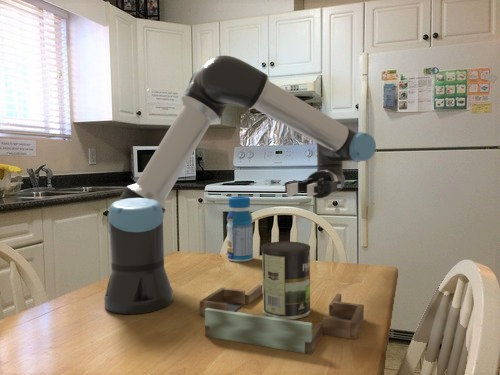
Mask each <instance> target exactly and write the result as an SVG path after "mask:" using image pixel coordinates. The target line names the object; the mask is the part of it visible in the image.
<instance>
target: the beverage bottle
mask: <svg viewBox="0 0 500 375" xmlns="http://www.w3.org/2000/svg"><path fill="white" fill-rule="evenodd" d="M250 206H251V198H250V196H230V197H229V198H228V208H229V209H230V210H229V212H228V214H227V217H226V221H227V224H226V234H227V237H226V238H227V259H228V260H229V261H231V262H236V263H243V262H248V261H252V260H253V259H254V258H253V257H254V251H253V248H254V247H253V240H254V239H253V237H254V236H253V230H254V229H253V228H254V224H253V223H252V221H253V216H252V214H251V212H250V210H249V208H250Z"/></svg>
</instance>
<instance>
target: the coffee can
mask: <svg viewBox="0 0 500 375" xmlns="http://www.w3.org/2000/svg"><path fill="white" fill-rule="evenodd" d="M310 251H311V246H310V244H307V243H305V242H299V241H285V240H284V241H274V242H267V243H264V244H262V245H261V253H262V254H261V262H262V268H261V269H262V312H263V314H264V316H267V317H274V318H281V319H288V320H298V319H303V318H305V317H308V316H309V315H310V313H311V259H310V258H311V256H310V254H311V252H310Z"/></svg>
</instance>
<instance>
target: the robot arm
mask: <svg viewBox="0 0 500 375" xmlns="http://www.w3.org/2000/svg"><path fill="white" fill-rule="evenodd" d="M181 101H182V107H181V109H180V110H179V111H178V114H177V115H176V117H175V119H174V120H173V122H172V123H171V125H170V127H169V128H168V130H167V131H166V133H165V135H164V137H163V138H162V139H161V142H160V143H159V145H158V147H157V148H156V150H155V152H154V153H153V155H152V156H151V157H150V160H149V161H148V163H147V164H146V166H144V170H142V172H141V174H140V176H139V178H138V179H137V181H136V182H135V183H133V184H130V185H127V186H126V187H125V189H124V190H123V192H122V193H121V195H120V196H119V198H118V200H115V201H114V202H112V203H111V204H110V206H109V209H108V213H107V216H106V227H107V230H108V234H109V240H110V264H111V271H110V277H109V279H108V282H107V287H106V290H105V293H104V297H103V298H104V308H105V309H106V310H107V311H108V312H111V313H114V314H119V315H120V314H121V315H123V314H124V315H134V314H135V315H136V314H137V315H139V314H143V313H144V314H146V313H150V312H154V311H158V310H161V309H163V308H166V307H168V306H169V305H171V304H172V302H173V301H174V300H173V299H174V295H173V294H174V293H173V292H174V291H173V287H172V286H171V283H170V282H171V281H170V279H169V276H168V274H167V271H166V268H165V254H164V252H165V249H164V248H165V247H164V245H165V244H164V214H165V212H166V210H167V204H166V199H167V197H168V196H169V194H170V192H171V191H172V189H173V187H174V186H175V184H176V182H177V180H178V179H179V177H180V175H181V174H182V173H183V170H184V169H185V167H186V166H187V164H188V162H189V161H190V159H191V157H192V155H193V154H194V153H195V150H197V147H198V145H199V143H200V142H201V140H202V139H203V137H204V136H205V134H206V132H207V130H208V129H209V127H210V126H211V124H212V123H216V122H219V121H220V119H221V118H222V116H223V115H224V113H225V111H226V109H227V108H228V106H229V105H230V104H233V105H238V106H241V107H242V108H244V109H246V110H248V111H249V110H252V109H254V110H256V111H259V112H260V113H261V114H264V115H266V116H268V117H269V118H271V119H273V120H274V121H277V123H280V124H282V125H284V126H285V127H287V128H290V129H291V130H293V131H295V132H296V133H298V134H300V135H303V137H306V138H307V139H309V140H312V141H313V142H315V143H316V159H317V160H316V162H317V163H316V165H317V166H316V170H315V171H313V172H311V173H310V174H309V175H308V177H307V178H306V179H303V181H299V180H295V179H294V180H290V181H287V182H285V183H284V185H285V186H284V187H285V188H284V193H286V197H296V196H297V195H298V194H299V193H302V192H303V193H305V194H306V197H307V198H308V197H309V198H310V197H312V198H313V197H314V198H315V199H326V198H327V197H329V196H331V195H335V194H337V193H339V192H340V191H342V189H343V188H344V185H345V182H346V179H345V175H344V173H343V163H344V162H355V163H360V162H367V161H369V160H370V159H371V158H373V156H374V155H375V153H376V149H377V148H376V146H377V144H376V140H375V138H374V137H373V135H371V134H369V133H368V132H362V131H360V132H357V131H354V130H353V129H351V128H349V127H348V126H346V125H344V124H342V123H341V122H339V121H337V120H336V119H333V118H332V117H330V115H329V116H328V115H327V114H325V113H324V112H322V111H321V110H318V108H315V107H314V106H312V105H310V104H308V103H307V102H305V101H304V100H302V99H300V98H299V97H297V96H295V95H294V94H292V93H290V92H288V91H287V90H285V89H284V88H281V87H280V86H278V85H276V84H275V83H273V82H272V81H270V79H269V75H268V74H267V73H265V72H263V71H261V70H260V69H258V68H256V67H255V66H253V65H251V64H249V63H248V62H245V61H243V60H242V59H240V58H237V57H235V56H230V55H218V56H215V57H213V58H211V59H209V60H208V61H207V62H205V64H203V65H202V66H200V67H199V68H198V69H196V70H195V71H194V73H193V74H192V75H191V77H190V80H189V82H188V86H187V87H186V89H185V90H184V92H183V94H182V96H181Z"/></svg>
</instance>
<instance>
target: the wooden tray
mask: <svg viewBox="0 0 500 375" xmlns="http://www.w3.org/2000/svg"><path fill="white" fill-rule="evenodd" d="M261 295H263V284H257V285H256V286H255V287H253V288H251V289H250V290H249V291H248V292H247V293H246V290H244V289H235V288H229V287H228V288H227V287H220V288H218V289H217V290H215V291H214V292H212V293H210V294H209V295H208V296H205V297H204V298H203V299H201V300H200V301H199V316H202V317H204V334H205V335H204V336H205V337H208V338H214V339H220V340H227V341H231V342H238V343H243V344H250V345H253V346H254V345H255V346H261V347H266V348H272V349H278V350H284V351H288V352H289V351H290V352H295V353H299V354H300V353H301V354H306V355H312V353H313V351H314V350H315V347H316V346H317V344H318V343H319V341H320V340H321V338H322V337H323V335H324V336H331V337H338V338H345V339H352V340H356V339H357V337H358V334H359V333H360V329H361V328H362V324H363V322H364V320H365V316H364V312H365V309H364V308H365V305H364V304H359V303H353V302H352V303H351V302H344V301H343V302H342V293H336V294H335V295H334V296H333V299H332V300H331V302H330V303H329V305H328V315H330V316H331V317H330V316H323V317H322V323H321V322H319V323H318V322H316V324H315V325H314V327H313V322H308V321H307V322H306V321H301V320H296V319H292V320H288V319H281V318H274V317H269V316H267V315H260V314H253V313H252V314H251V313H245V312H239V311H238V310H239V309H241V308H242V307H243V306H244V305H246V304H247V305H250V304H251V303H252V302H254V301H255V300H256V299H257V298H259V297H260V296H261Z"/></svg>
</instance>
